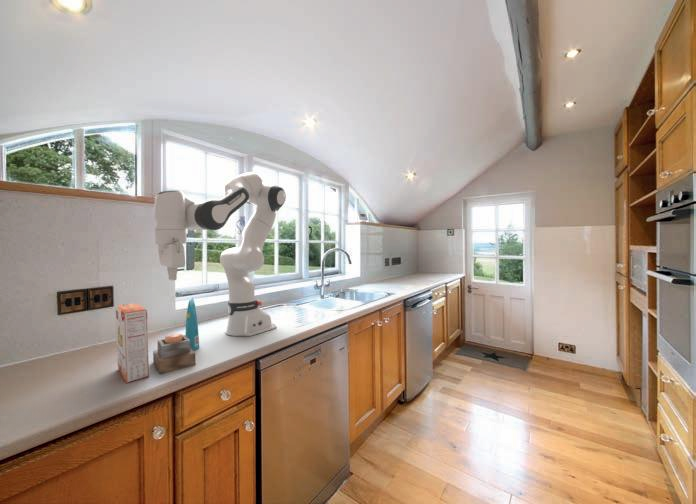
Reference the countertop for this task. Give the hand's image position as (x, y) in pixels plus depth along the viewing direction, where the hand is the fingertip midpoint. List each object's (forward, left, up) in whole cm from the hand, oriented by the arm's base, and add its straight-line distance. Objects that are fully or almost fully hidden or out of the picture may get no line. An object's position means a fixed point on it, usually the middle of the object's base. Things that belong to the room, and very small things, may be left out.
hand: (172, 280), depth 93 cm
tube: (-8, -11, -29) cm, 32 cm away
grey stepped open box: (0, 0, -28) cm, 28 cm away
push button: (0, 0, -24) cm, 24 cm away
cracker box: (+11, -1, -29) cm, 31 cm away
